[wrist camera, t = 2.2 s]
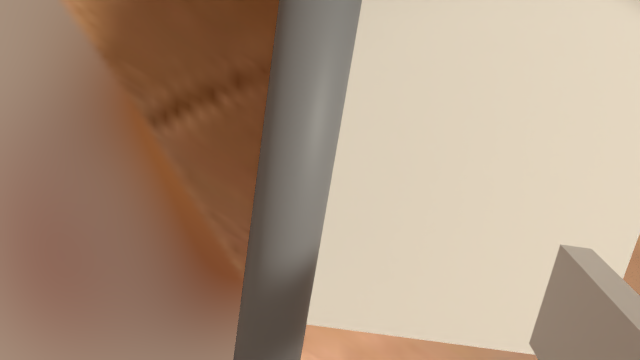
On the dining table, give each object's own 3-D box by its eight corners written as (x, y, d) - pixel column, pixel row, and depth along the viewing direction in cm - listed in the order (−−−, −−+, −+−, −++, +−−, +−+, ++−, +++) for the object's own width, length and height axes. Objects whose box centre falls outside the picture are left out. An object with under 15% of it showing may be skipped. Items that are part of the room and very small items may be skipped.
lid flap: (302, -101, 21) (294, -141, 14) (717, -29, 22) (926, -30, 15) (248, 304, 27) (221, 435, 19) (583, 349, 28) (683, 491, 20)
